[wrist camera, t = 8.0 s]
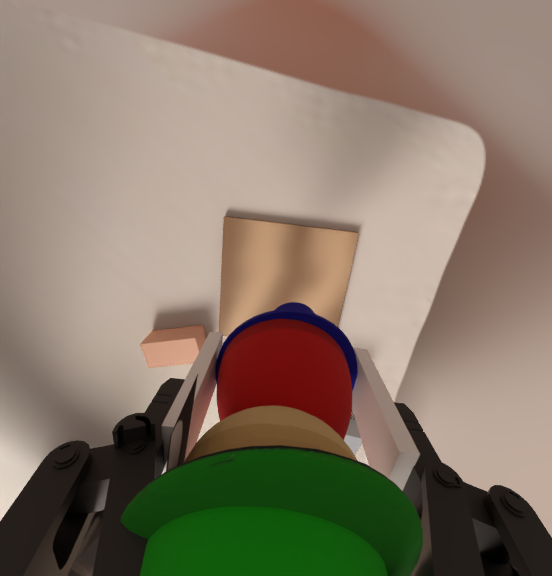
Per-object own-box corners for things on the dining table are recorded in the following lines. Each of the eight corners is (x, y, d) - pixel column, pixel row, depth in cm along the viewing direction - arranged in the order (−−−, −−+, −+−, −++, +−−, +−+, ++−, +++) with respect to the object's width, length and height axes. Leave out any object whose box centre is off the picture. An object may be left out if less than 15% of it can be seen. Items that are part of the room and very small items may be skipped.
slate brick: (340, 450, 37) (345, 471, 34) (320, 445, 36) (323, 466, 34) (357, 418, 35) (364, 439, 32) (335, 413, 34) (340, 433, 32)
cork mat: (219, 332, 30) (218, 335, 30) (225, 216, 26) (223, 217, 25) (332, 345, 30) (333, 348, 30) (357, 232, 26) (358, 233, 25)
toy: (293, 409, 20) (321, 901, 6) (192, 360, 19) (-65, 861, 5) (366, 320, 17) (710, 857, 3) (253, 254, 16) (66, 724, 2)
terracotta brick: (160, 351, 32) (148, 367, 29) (153, 330, 31) (139, 344, 28) (209, 346, 31) (202, 362, 28) (203, 324, 30) (195, 337, 27)
